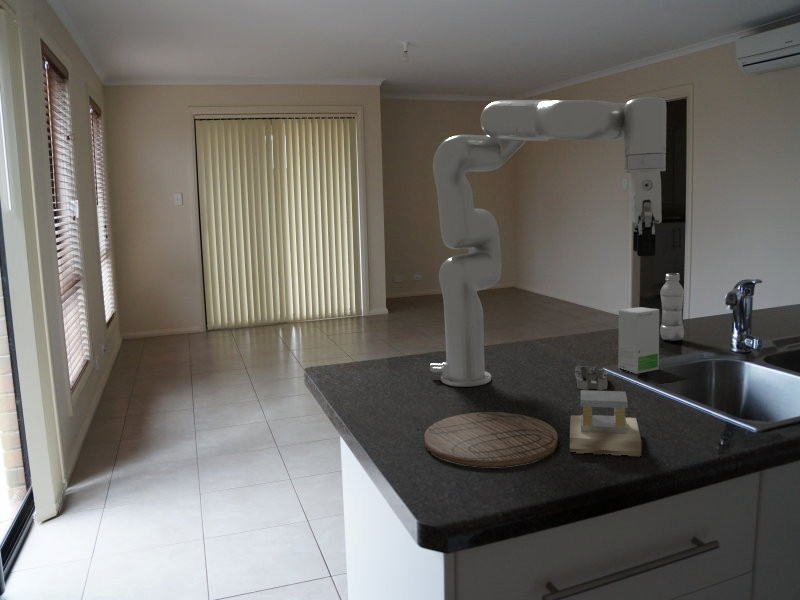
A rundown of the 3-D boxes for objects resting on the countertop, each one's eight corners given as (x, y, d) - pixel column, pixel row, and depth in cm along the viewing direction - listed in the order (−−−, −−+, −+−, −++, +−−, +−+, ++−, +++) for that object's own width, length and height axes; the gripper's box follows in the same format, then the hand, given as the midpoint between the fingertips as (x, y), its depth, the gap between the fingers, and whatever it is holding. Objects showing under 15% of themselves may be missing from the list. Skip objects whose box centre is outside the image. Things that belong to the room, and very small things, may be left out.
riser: (569, 453, 118) (569, 437, 118) (570, 430, 130) (570, 415, 129) (641, 457, 115) (641, 441, 114) (635, 432, 126) (635, 417, 126)
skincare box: (636, 374, 164) (636, 313, 162) (616, 369, 170) (616, 309, 168) (660, 369, 168) (661, 308, 166) (639, 364, 174) (640, 305, 171)
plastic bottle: (687, 342, 194) (689, 274, 191) (664, 343, 194) (665, 275, 191) (678, 337, 200) (680, 272, 197) (656, 338, 201) (657, 273, 197)
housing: (627, 434, 118) (627, 401, 117) (580, 431, 120) (580, 400, 119) (625, 422, 124) (625, 391, 123) (580, 420, 126) (580, 390, 125)
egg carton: (608, 392, 153) (608, 375, 152) (574, 391, 155) (574, 374, 154) (607, 379, 163) (607, 362, 162) (575, 378, 165) (575, 362, 164)
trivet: (403, 435, 132) (402, 426, 132) (509, 413, 142) (509, 404, 142) (465, 482, 110) (465, 471, 109) (586, 452, 120) (586, 442, 119)
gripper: (671, 162, 118) (669, 257, 121) (660, 164, 135) (659, 248, 137) (627, 164, 120) (626, 258, 123) (621, 166, 137) (621, 249, 139)
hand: (643, 253), depth 130 cm, fingers open, 9 cm apart
